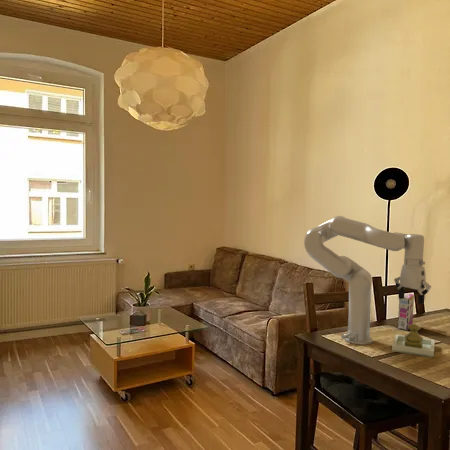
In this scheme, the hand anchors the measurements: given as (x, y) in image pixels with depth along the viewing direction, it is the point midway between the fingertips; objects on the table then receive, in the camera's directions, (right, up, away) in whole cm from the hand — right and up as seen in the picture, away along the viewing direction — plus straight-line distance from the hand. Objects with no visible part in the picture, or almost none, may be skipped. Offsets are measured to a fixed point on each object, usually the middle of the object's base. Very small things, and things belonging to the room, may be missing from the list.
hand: (410, 301), depth 189 cm
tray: (+1, -21, -1) cm, 21 cm away
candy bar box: (+10, -19, +30) cm, 37 cm away
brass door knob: (+1, -20, -1) cm, 20 cm away
